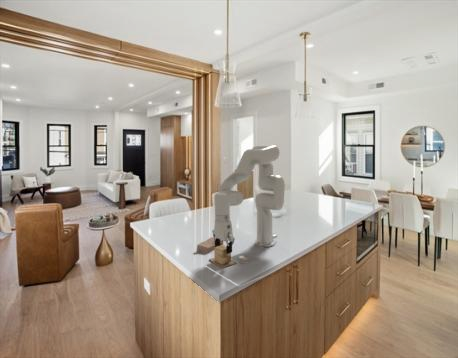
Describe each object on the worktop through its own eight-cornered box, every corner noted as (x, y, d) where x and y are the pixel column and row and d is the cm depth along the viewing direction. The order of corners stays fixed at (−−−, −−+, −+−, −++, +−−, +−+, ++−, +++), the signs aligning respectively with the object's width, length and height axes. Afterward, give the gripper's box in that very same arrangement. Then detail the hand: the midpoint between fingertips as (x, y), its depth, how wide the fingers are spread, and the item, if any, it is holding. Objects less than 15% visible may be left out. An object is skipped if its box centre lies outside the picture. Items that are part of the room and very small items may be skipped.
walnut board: (222, 257, 139) (222, 255, 139) (237, 264, 130) (237, 262, 129) (208, 261, 133) (208, 259, 133) (222, 269, 124) (222, 267, 124)
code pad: (244, 253, 144) (244, 252, 144) (258, 259, 135) (258, 258, 135) (228, 258, 137) (228, 257, 137) (242, 265, 129) (242, 264, 129)
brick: (207, 255, 143) (207, 246, 142) (196, 252, 147) (195, 244, 147) (224, 245, 157) (223, 238, 156) (212, 243, 161) (212, 236, 161)
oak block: (223, 257, 136) (223, 244, 135) (231, 261, 131) (230, 247, 130) (214, 260, 132) (214, 247, 131) (221, 264, 127) (221, 250, 126)
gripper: (239, 219, 125) (240, 253, 127) (218, 212, 138) (219, 243, 140) (227, 222, 120) (228, 257, 122) (206, 215, 134) (207, 247, 136)
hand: (223, 249), depth 131 cm, fingers open, 9 cm apart
